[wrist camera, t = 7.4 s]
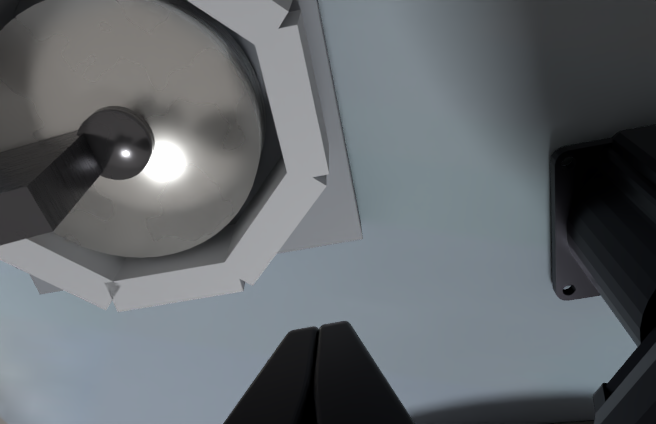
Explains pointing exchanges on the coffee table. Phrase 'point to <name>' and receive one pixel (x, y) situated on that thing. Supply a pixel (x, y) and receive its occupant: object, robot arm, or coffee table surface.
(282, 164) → the dial panel
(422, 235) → the coffee table surface
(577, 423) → the media streaming box
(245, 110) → the dial
